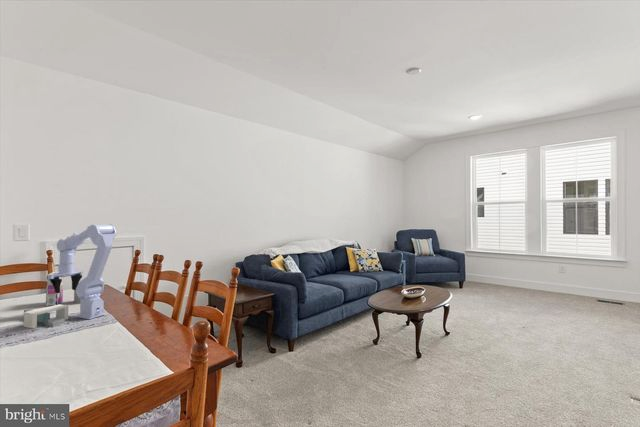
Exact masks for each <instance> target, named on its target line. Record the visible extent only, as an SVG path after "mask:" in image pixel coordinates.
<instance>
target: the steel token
mask: <svg viewBox="0 0 640 427" xmlns="http://www.w3.org/2000/svg"><path fill="white" fill-rule="evenodd" d="M65 323H66V320H65V318H59V317H56V316H55V317H53V318H50V319H48V320H45V323H44V326H46V327H57V326H60V325H64V324H65Z"/></svg>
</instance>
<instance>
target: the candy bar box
mask: <svg viewBox="0 0 640 427" xmlns="http://www.w3.org/2000/svg"><path fill="white" fill-rule="evenodd" d="M55 273H59V271H52V272H50V273H48V274H46V295H45V307H50V306H54V305H59V304H60V303H62V302H63V299H64V298H63V297H64V295H63V293H64V277H60V279H62V281H61V285H60V293H55V289H54V286H53V284H52V283H51V281H50V279H49V275H50V274H55Z"/></svg>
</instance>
